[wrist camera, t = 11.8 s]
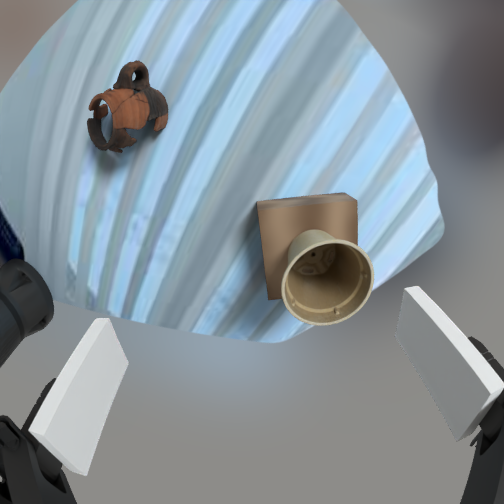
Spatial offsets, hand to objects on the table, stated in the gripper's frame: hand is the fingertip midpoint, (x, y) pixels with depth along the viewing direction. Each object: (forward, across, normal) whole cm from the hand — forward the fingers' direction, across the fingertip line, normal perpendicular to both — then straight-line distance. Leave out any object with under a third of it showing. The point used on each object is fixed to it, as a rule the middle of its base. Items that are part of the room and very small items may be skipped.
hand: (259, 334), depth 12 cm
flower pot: (+23, +7, -6) cm, 25 cm away
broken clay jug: (+28, -14, +14) cm, 34 cm away
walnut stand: (+27, +7, -6) cm, 29 cm away
